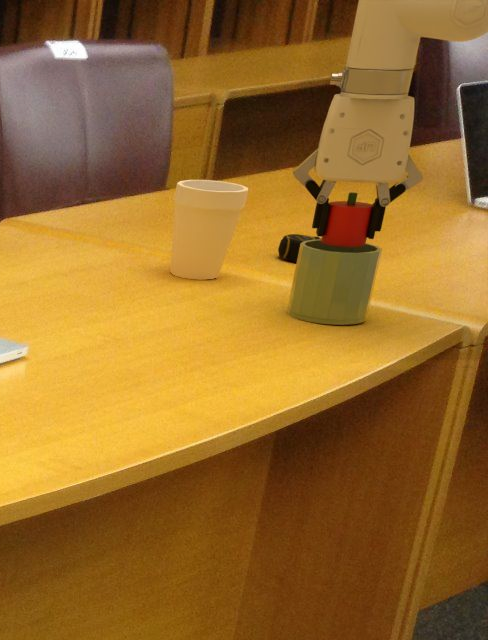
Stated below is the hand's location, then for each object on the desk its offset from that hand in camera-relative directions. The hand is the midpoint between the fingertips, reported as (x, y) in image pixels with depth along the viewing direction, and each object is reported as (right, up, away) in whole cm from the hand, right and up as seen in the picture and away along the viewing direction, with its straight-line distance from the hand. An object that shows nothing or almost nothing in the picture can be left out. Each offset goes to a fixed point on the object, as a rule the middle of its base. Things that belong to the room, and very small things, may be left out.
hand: (344, 234), depth 195 cm
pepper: (0, -1, +1) cm, 1 cm away
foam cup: (-10, +1, +25) cm, 27 cm away
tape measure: (+12, +6, +36) cm, 38 cm away
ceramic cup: (0, -9, +5) cm, 10 cm away
